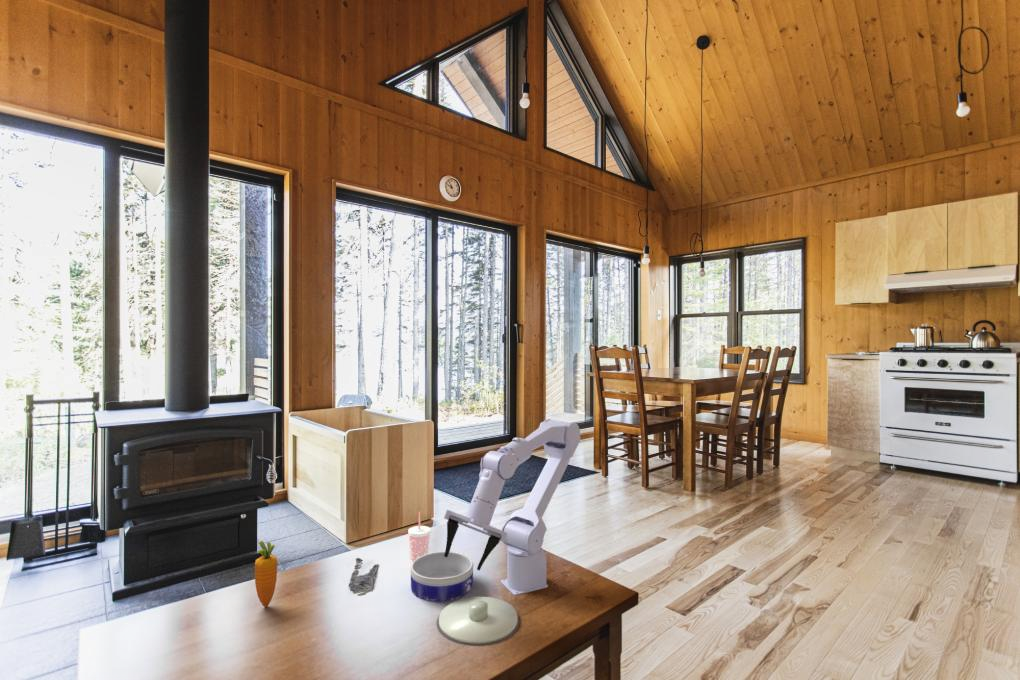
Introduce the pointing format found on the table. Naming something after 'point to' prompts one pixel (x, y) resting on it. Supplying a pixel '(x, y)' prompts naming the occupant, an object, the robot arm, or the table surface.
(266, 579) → the carrot
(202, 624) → the table surface
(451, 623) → the lid
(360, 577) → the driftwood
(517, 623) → the mat
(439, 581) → the dog bowl
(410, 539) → the beverage cup
